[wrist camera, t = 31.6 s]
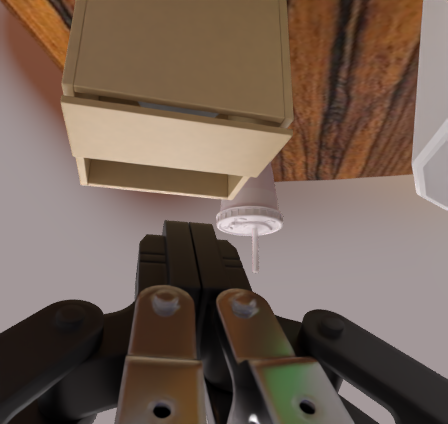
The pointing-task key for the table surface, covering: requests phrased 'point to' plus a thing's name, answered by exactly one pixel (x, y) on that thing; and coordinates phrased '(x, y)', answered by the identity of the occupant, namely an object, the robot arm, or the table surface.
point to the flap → (169, 138)
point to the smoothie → (252, 211)
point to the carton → (180, 75)
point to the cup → (432, 106)
